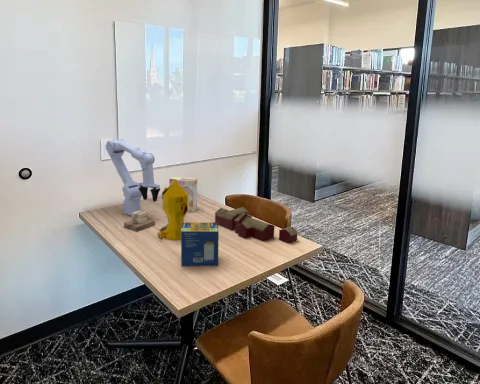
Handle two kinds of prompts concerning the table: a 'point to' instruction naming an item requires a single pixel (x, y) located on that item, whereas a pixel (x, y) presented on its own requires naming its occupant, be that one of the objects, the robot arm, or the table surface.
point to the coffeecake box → (188, 190)
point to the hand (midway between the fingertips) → (150, 200)
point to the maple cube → (139, 217)
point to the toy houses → (252, 226)
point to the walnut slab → (139, 225)
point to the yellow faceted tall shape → (174, 210)
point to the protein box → (199, 244)
